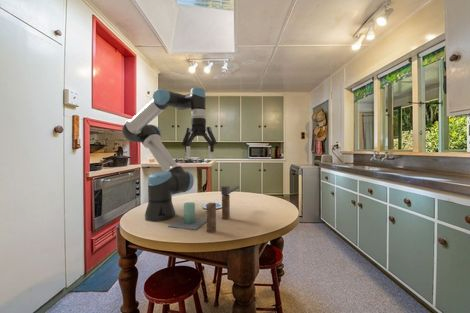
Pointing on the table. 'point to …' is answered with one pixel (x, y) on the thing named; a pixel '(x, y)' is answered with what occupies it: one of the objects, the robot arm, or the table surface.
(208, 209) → the frame
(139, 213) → the table surface
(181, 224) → the pad
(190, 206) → the plug
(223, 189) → the dark grey bar
